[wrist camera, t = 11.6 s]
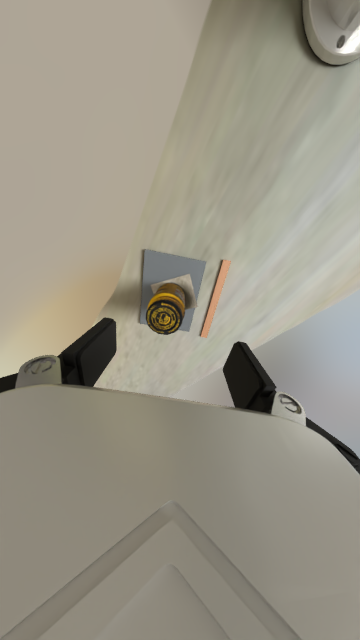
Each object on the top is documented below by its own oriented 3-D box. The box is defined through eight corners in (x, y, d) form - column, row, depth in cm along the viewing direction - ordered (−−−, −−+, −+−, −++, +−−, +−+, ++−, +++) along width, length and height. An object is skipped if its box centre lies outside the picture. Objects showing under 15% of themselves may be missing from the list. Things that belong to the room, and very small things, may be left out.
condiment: (150, 284, 29) (131, 302, 18) (189, 273, 27) (194, 285, 17) (161, 315, 31) (150, 346, 21) (197, 306, 30) (205, 334, 20)
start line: (223, 259, 27) (223, 259, 26) (230, 261, 27) (231, 261, 27) (200, 335, 34) (200, 336, 34) (206, 336, 34) (206, 337, 34)
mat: (145, 249, 26) (144, 249, 26) (205, 261, 27) (206, 261, 26) (140, 322, 33) (139, 323, 32) (188, 330, 34) (189, 331, 33)
